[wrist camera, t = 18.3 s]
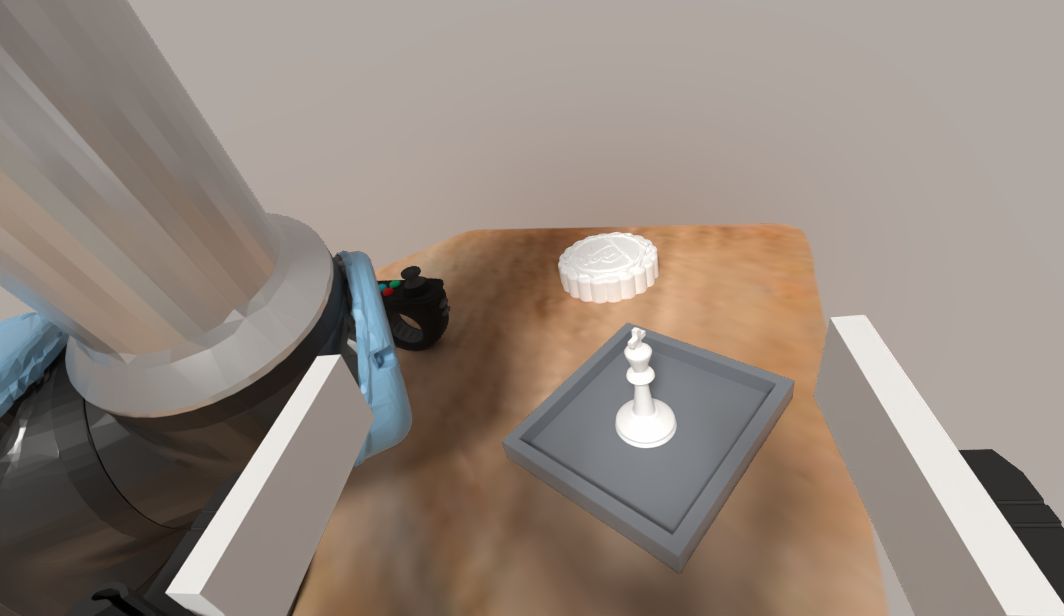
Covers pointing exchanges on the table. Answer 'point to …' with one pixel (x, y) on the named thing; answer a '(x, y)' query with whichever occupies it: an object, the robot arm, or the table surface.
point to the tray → (660, 472)
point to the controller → (415, 309)
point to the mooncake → (608, 267)
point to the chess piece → (643, 401)
